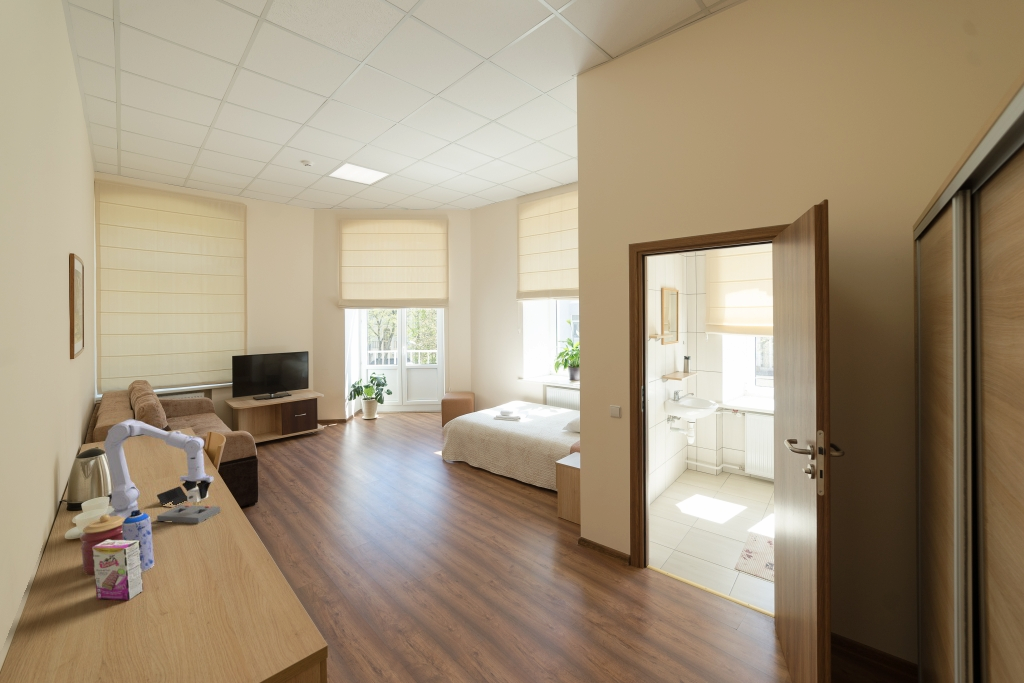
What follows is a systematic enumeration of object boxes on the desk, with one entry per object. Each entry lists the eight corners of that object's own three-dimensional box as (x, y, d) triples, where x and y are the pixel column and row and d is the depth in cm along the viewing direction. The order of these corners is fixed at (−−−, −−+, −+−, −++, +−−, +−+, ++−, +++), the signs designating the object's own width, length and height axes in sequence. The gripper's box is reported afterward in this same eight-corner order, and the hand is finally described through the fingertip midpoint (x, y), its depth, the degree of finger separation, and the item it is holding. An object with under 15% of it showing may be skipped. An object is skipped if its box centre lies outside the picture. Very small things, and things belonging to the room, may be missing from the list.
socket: (198, 523, 186) (198, 516, 185) (157, 521, 189) (156, 514, 189) (220, 512, 196) (219, 505, 196) (180, 510, 200) (180, 503, 200)
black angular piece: (176, 504, 203) (165, 486, 205) (164, 514, 204) (153, 496, 205) (197, 497, 215) (186, 480, 216) (186, 507, 215) (175, 490, 217)
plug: (195, 508, 187) (194, 492, 187) (185, 507, 188) (184, 492, 188) (208, 501, 194) (207, 486, 194) (199, 501, 195) (198, 486, 194)
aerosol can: (119, 576, 147) (114, 517, 146) (132, 564, 155) (128, 507, 154) (147, 572, 149) (143, 513, 148) (159, 560, 157) (155, 504, 156)
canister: (75, 569, 153) (71, 519, 152) (122, 551, 164) (118, 504, 163) (92, 578, 147) (88, 526, 146) (140, 559, 158) (136, 510, 157)
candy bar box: (95, 600, 135) (90, 547, 134) (111, 590, 140) (107, 538, 139) (129, 601, 134) (124, 547, 133) (144, 591, 139) (140, 539, 138)
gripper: (218, 463, 194) (220, 494, 194) (189, 463, 196) (191, 493, 197) (204, 469, 187) (207, 501, 187) (174, 468, 189) (177, 500, 190)
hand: (198, 497), depth 191 cm, fingers closed on plug, 5 cm apart
